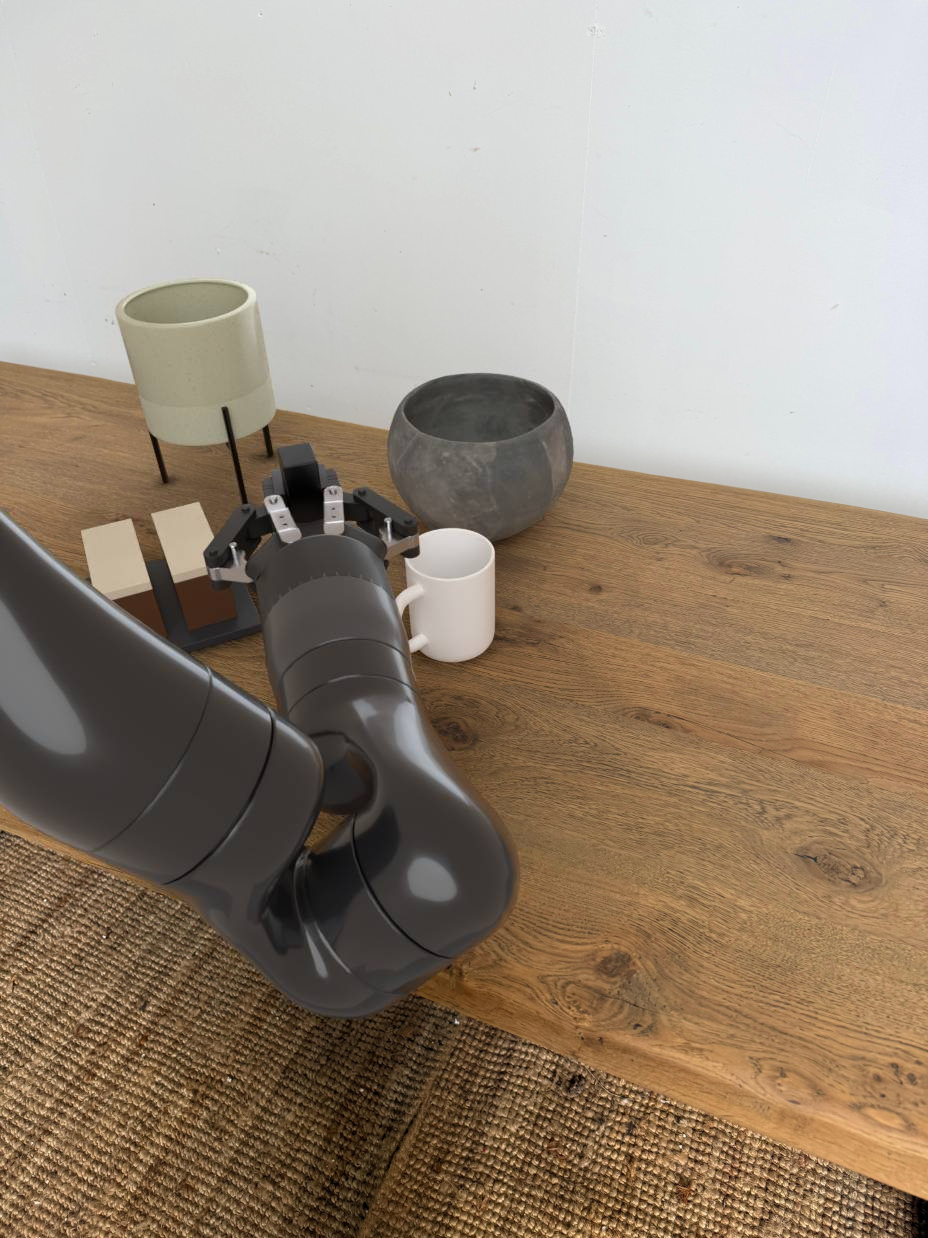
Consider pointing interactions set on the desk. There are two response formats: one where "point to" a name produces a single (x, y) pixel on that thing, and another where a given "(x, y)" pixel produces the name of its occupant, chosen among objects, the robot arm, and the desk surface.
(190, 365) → the planter
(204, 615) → the cake
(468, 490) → the bowl
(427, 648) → the cup
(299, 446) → the knife
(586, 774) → the desk surface
